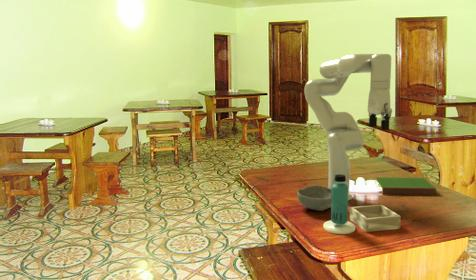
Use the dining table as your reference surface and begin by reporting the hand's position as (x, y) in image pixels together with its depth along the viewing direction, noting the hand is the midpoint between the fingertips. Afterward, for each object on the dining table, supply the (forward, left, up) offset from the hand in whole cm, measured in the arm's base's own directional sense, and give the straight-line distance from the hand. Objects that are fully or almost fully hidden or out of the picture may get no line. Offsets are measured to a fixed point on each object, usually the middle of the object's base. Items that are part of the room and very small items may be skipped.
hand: (378, 128), depth 171 cm
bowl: (-12, -21, -37) cm, 44 cm away
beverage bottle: (+11, -21, -36) cm, 43 cm away
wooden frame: (+10, -6, -36) cm, 38 cm away
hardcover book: (-29, +31, -37) cm, 56 cm away
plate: (+11, -21, -36) cm, 43 cm away
